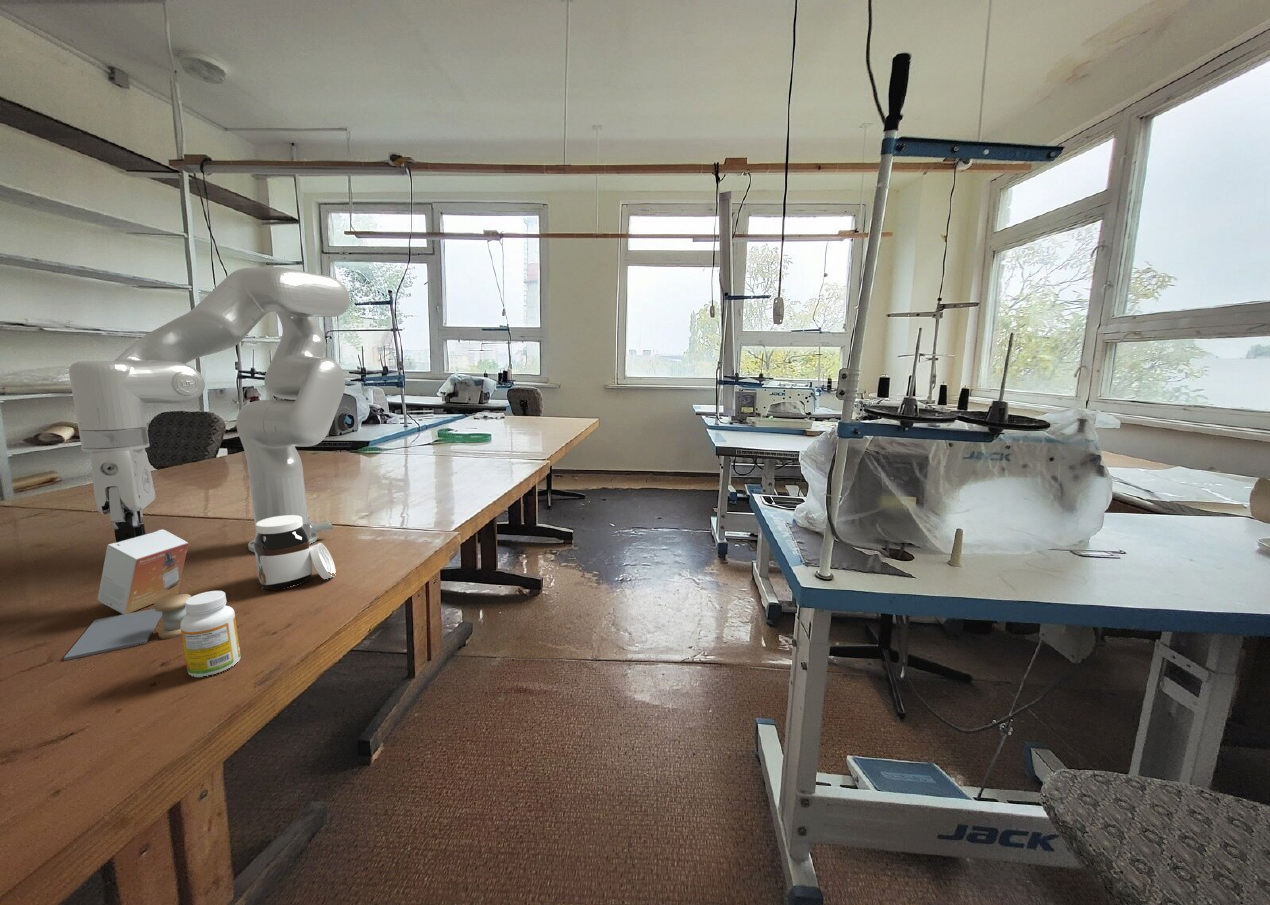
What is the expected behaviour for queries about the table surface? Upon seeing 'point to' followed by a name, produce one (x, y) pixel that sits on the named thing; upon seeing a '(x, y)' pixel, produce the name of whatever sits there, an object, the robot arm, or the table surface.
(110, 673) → the table surface
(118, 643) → the felt mat
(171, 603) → the thread spool
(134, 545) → the small box
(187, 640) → the supplement bottle
